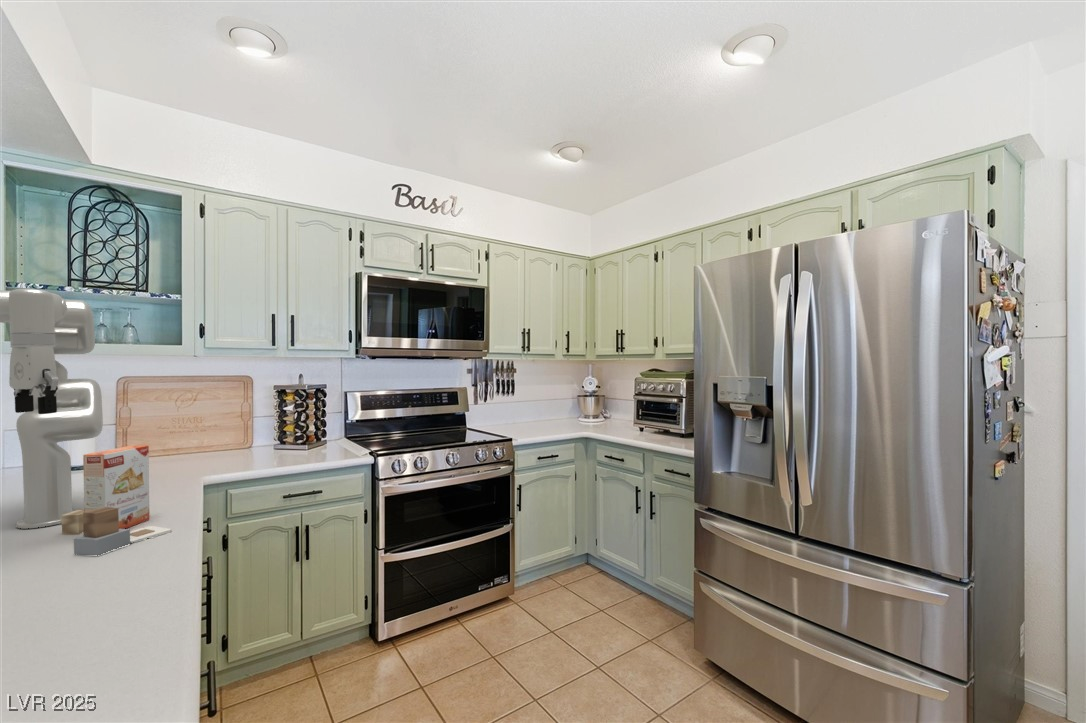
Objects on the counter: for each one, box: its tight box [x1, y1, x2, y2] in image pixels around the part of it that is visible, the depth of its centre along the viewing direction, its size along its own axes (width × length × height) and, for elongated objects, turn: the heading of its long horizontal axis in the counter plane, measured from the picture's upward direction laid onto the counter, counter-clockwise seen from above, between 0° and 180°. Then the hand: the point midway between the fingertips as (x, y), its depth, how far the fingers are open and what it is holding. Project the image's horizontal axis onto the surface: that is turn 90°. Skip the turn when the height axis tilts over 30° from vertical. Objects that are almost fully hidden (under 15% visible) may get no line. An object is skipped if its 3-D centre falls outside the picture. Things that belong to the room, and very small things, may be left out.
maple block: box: [61, 509, 84, 535], centre depth 130 cm, size 4×4×5 cm
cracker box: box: [82, 444, 151, 529], centre depth 132 cm, size 14×6×21 cm, turn 179°
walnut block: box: [83, 507, 119, 538], centre depth 116 cm, size 4×4×6 cm
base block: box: [73, 528, 131, 557], centre depth 116 cm, size 7×7×4 cm
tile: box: [130, 525, 173, 544], centre depth 125 cm, size 9×9×1 cm
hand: (36, 412), depth 119 cm, fingers open, 9 cm apart
